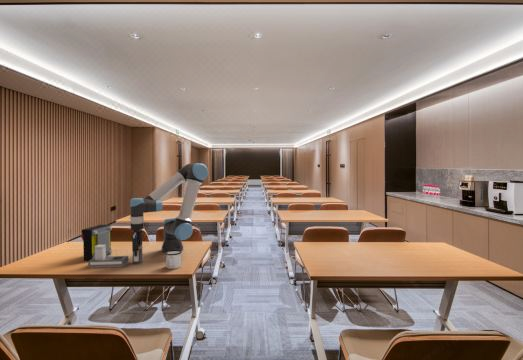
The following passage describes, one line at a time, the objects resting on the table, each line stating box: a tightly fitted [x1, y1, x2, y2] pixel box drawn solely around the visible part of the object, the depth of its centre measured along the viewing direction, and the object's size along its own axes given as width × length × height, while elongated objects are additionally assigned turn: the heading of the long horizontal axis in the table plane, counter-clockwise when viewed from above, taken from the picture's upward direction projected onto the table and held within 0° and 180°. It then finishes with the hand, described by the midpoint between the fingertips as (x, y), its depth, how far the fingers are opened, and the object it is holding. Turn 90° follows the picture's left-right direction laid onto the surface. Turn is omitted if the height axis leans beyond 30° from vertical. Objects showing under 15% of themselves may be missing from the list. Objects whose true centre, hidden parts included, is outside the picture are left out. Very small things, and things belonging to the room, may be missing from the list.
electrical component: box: [80, 224, 113, 262], centre depth 202 cm, size 18×10×20 cm, turn 168°
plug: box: [132, 243, 143, 265], centre depth 191 cm, size 5×5×11 cm
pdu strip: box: [87, 255, 130, 269], centre depth 186 cm, size 20×9×4 cm, turn 96°
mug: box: [164, 250, 183, 270], centre depth 181 cm, size 12×10×9 cm
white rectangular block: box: [95, 245, 106, 260], centre depth 186 cm, size 5×5×11 cm
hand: (137, 259), depth 191 cm, fingers closed on plug, 4 cm apart
